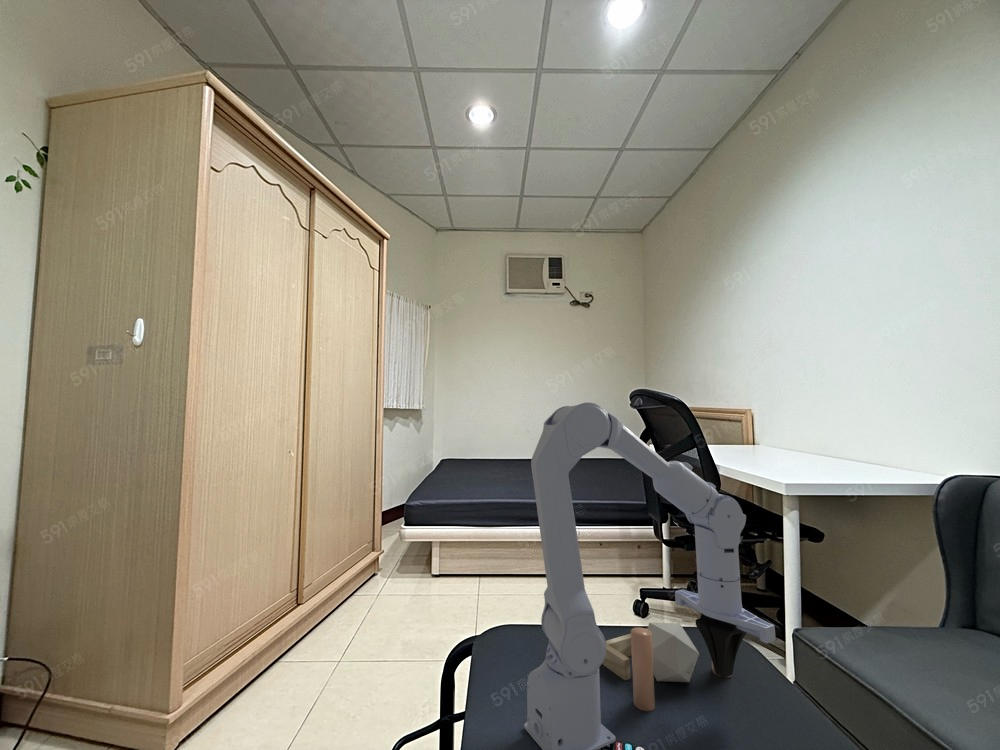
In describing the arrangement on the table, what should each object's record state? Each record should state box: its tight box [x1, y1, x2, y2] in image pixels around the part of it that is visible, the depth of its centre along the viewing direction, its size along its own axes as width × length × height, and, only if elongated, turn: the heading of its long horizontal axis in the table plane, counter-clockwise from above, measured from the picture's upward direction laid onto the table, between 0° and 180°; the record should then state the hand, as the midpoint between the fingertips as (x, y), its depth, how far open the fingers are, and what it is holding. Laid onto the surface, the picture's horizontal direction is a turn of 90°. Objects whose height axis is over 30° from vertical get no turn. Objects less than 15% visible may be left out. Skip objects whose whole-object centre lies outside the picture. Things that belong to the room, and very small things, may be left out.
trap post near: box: [630, 626, 656, 712], centre depth 63 cm, size 3×3×10 cm
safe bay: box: [601, 632, 632, 681], centre depth 74 cm, size 14×6×3 cm, turn 118°
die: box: [646, 622, 700, 683], centre depth 70 cm, size 8×9×10 cm
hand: (724, 674), depth 61 cm, fingers closed
